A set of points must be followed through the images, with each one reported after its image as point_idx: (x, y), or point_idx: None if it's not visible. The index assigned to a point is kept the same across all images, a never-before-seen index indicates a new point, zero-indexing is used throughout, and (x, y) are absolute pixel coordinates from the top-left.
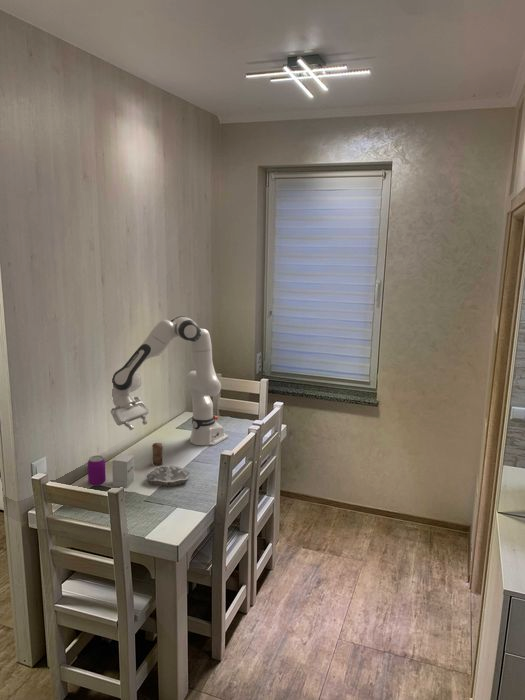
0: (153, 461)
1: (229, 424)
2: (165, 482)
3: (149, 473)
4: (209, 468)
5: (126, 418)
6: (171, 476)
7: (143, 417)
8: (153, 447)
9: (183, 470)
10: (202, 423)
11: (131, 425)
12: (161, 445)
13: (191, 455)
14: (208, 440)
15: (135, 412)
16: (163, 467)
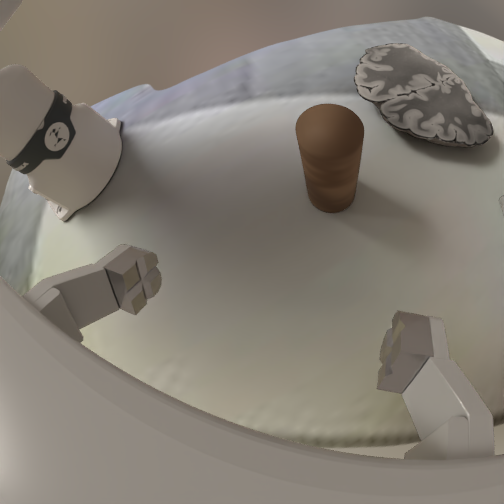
0: (354, 191)
1: (20, 181)
2: (463, 82)
3: (464, 143)
4: (281, 49)
5: (493, 501)
6: (427, 76)
7: (65, 304)
8: (362, 143)
9: (369, 61)
10: (64, 103)
11: (424, 352)
12: (326, 104)
13: (202, 124)
14: (108, 124)
15: (34, 445)
16: (394, 117)
